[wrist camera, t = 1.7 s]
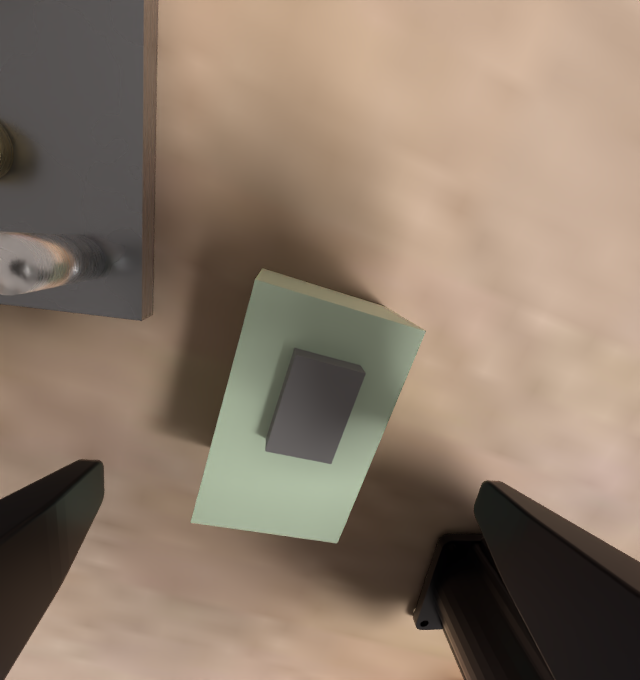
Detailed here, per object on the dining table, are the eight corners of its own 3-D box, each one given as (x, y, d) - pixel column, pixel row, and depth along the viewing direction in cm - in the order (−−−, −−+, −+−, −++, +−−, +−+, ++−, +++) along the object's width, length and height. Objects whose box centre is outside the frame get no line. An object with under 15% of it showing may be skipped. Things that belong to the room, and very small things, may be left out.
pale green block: (322, 466, 15) (340, 559, 11) (214, 446, 14) (185, 539, 10) (382, 305, 13) (435, 337, 9) (262, 267, 12) (253, 282, 8)
